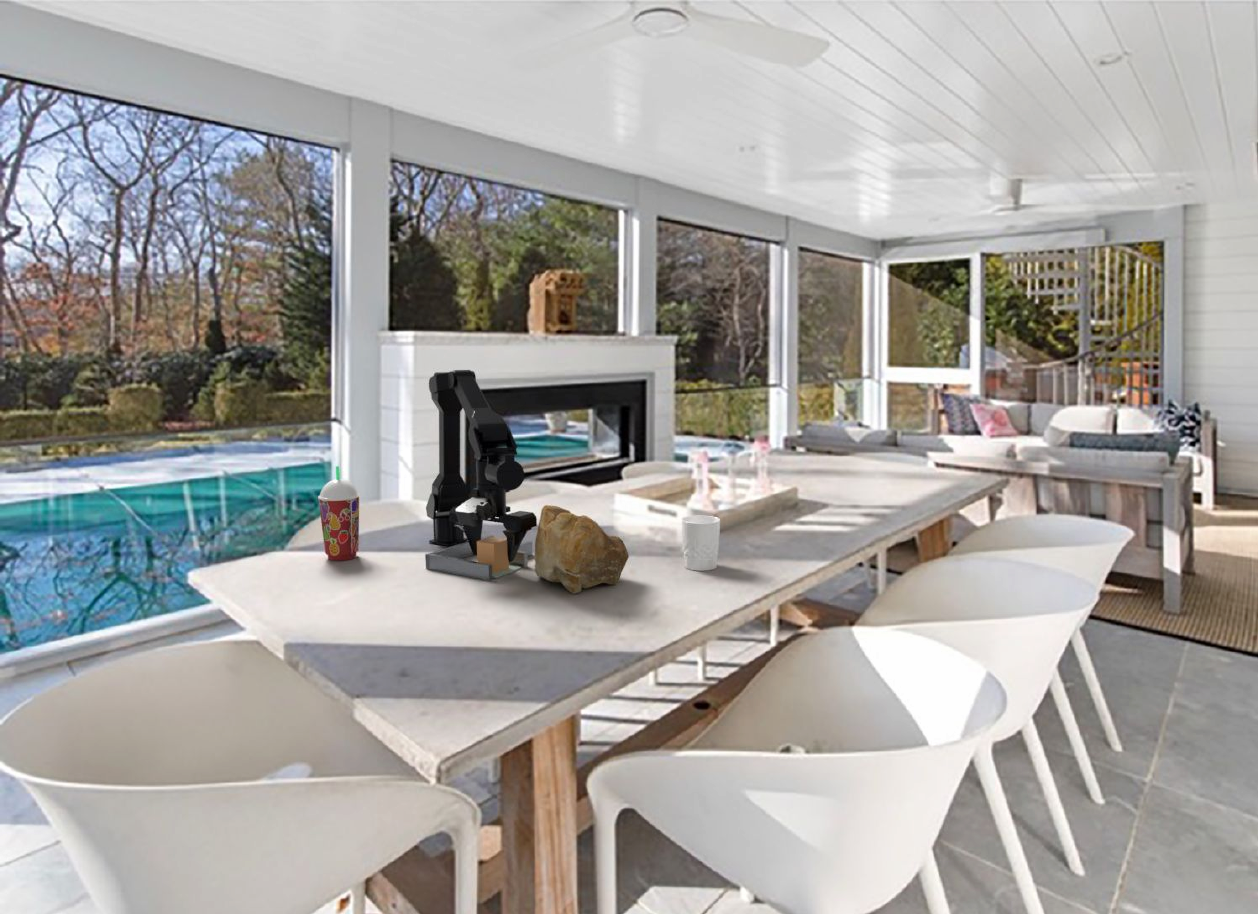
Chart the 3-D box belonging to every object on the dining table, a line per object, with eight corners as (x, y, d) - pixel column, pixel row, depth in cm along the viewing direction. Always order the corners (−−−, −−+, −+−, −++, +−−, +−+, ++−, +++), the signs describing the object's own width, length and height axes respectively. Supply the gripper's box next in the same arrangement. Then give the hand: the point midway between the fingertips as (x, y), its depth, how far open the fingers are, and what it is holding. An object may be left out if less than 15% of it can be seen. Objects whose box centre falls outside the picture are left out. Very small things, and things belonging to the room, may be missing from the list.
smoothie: (370, 555, 174) (366, 465, 171) (342, 564, 166) (337, 470, 164) (342, 551, 177) (337, 462, 175) (313, 560, 170) (307, 468, 167)
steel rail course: (425, 568, 163) (425, 554, 163) (490, 547, 180) (490, 534, 180) (489, 580, 154) (488, 565, 154) (550, 557, 171) (550, 544, 171)
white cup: (723, 563, 166) (723, 516, 165) (714, 573, 159) (715, 524, 158) (687, 560, 169) (687, 514, 168) (676, 570, 162) (677, 522, 160)
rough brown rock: (645, 600, 145) (650, 519, 144) (557, 602, 139) (562, 518, 138) (604, 571, 167) (609, 500, 166) (527, 572, 161) (531, 499, 160)
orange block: (492, 565, 165) (491, 536, 164) (509, 568, 162) (508, 539, 161) (477, 570, 161) (476, 541, 160) (494, 573, 158) (493, 544, 158)
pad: (465, 572, 160) (465, 571, 160) (491, 563, 167) (491, 561, 167) (495, 578, 156) (495, 576, 156) (521, 568, 163) (521, 567, 163)
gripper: (428, 485, 157) (431, 561, 159) (500, 493, 148) (503, 574, 150) (466, 477, 167) (469, 549, 169) (537, 484, 157) (539, 561, 159)
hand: (493, 558), depth 161 cm, fingers open, 9 cm apart
